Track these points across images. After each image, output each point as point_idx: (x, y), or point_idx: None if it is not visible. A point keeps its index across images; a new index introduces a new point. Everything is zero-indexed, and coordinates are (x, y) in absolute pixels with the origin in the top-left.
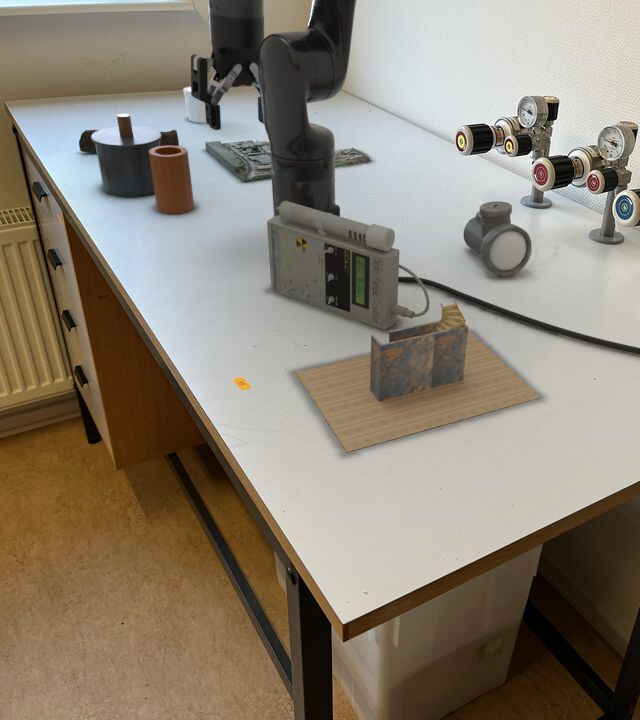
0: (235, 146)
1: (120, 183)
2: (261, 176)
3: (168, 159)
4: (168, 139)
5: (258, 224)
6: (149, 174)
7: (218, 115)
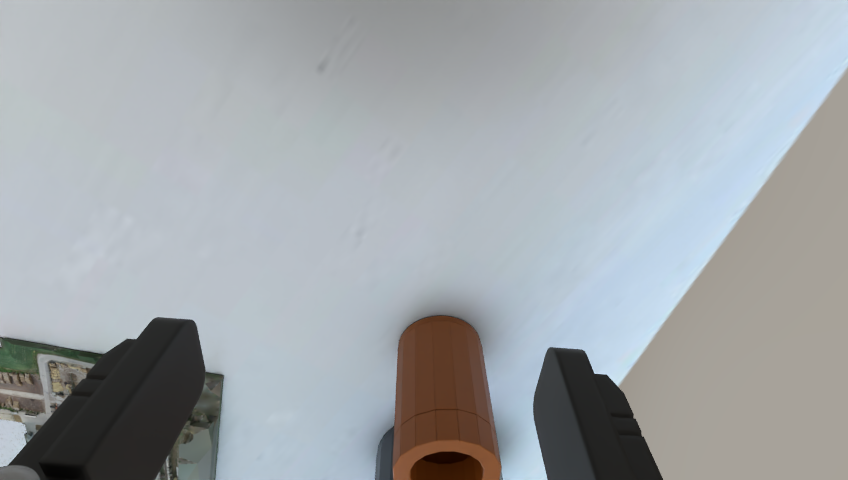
0: None
1: None
2: None
3: (478, 437)
4: None
5: (336, 155)
6: None
7: (597, 423)
